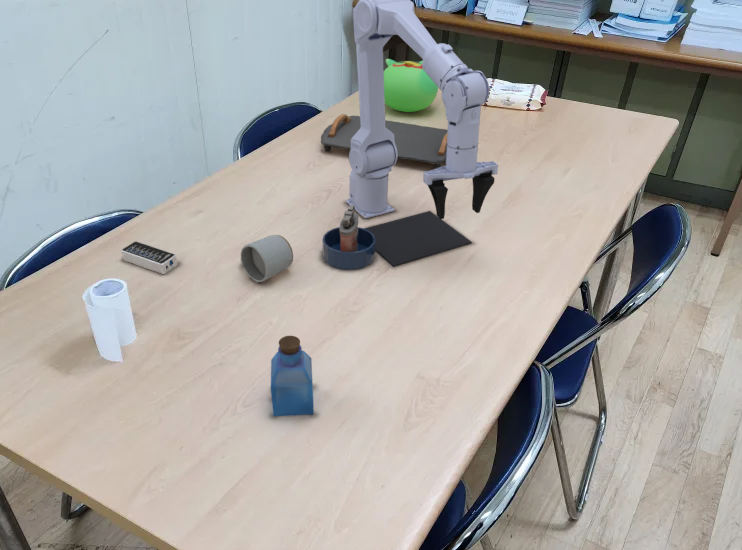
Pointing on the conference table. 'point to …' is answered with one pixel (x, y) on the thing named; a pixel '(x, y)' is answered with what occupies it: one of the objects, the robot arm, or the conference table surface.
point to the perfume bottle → (291, 379)
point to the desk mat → (415, 238)
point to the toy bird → (408, 86)
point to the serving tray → (408, 138)
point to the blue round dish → (348, 259)
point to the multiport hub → (149, 257)
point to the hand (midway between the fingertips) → (458, 214)
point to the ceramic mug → (266, 257)
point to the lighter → (349, 230)
